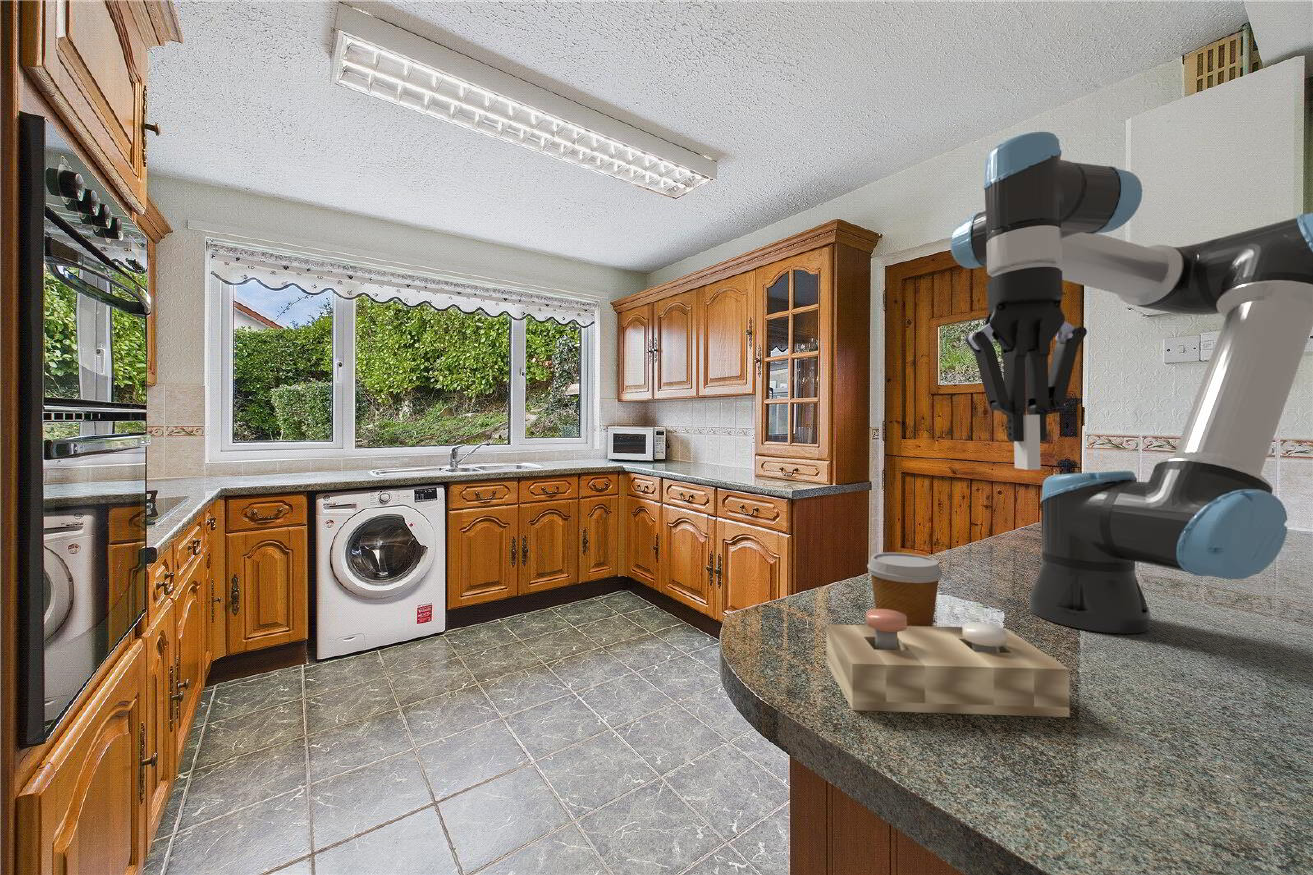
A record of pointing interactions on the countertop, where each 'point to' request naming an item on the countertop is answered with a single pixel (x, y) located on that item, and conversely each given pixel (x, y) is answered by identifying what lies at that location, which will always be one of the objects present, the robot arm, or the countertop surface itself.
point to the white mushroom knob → (984, 636)
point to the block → (945, 674)
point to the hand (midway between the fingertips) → (1027, 468)
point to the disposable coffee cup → (906, 585)
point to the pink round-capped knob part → (886, 627)
